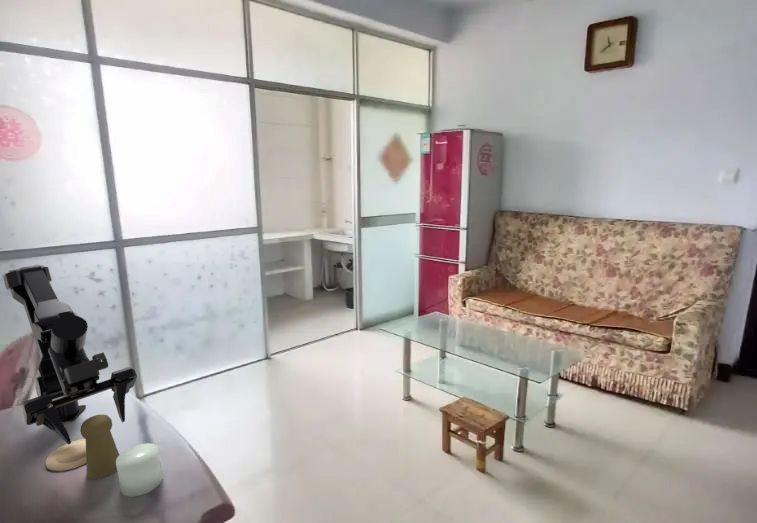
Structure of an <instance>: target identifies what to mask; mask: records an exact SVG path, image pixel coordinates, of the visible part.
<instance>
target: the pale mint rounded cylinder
mask: <svg viewBox="0 0 757 523" xmlns="http://www.w3.org/2000/svg"><path fill="white" fill-rule="evenodd" d="M116 466H117V471H116V472H117V476H118V481H119V486H120V491H121V494H122V495H123V496H125V497H129V498H132V497H133V498H134V497H140V496H143V495H145V494H148V493H150V492H152V491H153V490H156V488H157V487H159V486H160V485H161V483H162V481H163V479H164V475H163V474H164V473H163V469H162V468H163V466H162V461H161V456H160V448H159V446H158V445H157V444H155V443H148V442H147V443H140V444H137V445H134V446H131V447H129V448H126V449H125V450H124V451H122V452H120V453H119V456H118V457H117V459H116Z"/></svg>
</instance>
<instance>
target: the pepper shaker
mask: <svg viewBox="0 0 757 523" xmlns="http://www.w3.org/2000/svg"><path fill="white" fill-rule="evenodd" d="M112 428H113V420H112V419H111V417H110V416H109V415H108V414H95V415H93V416H90V417H88V418H86V419H85V420H84V421H83V422H82V423H81V425H80V429H79V430H80V435H81V436H82V437H83V438H82V439H84V438H85V439H86V476H87V478H88V479H91V480H99V479H103V478H106V477H109V476H111V475H112V474H114V473H116V472H118V471H117V466H116V459H117V457H118V456H119V455H120V453H119V450H118V448H117V446H116V443H115V439H114V437H113V434H112V432H111V430H112Z"/></svg>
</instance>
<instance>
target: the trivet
mask: <svg viewBox="0 0 757 523" xmlns="http://www.w3.org/2000/svg"><path fill="white" fill-rule="evenodd" d="M85 464H86V439H85V438H81V439H80V438H79V439H77V440H73V441H71V444H69V445H68V444H67V443H66V444H63V445H61V446H60V447H58V448H56V449H55V450H54V451H52V452H51V453H50V454H49V455H48V456H47V457H46V459H45V466H46V468H47V469H48V470H50V471H52V472H53V471H54V472H62V471H68V470H73V469H75V468H78V467H81V466H83V465H85Z"/></svg>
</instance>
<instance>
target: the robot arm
mask: <svg viewBox="0 0 757 523" xmlns="http://www.w3.org/2000/svg"><path fill="white" fill-rule="evenodd" d="M51 282H52V276H51V273H50V269H49V266H45V265H40V264H35V265H29V266H23V267H22V266H21V267H20V268H16V269H9V270H8V272H6V273H5V274H4V275H3V284H4V285H5V289H6V291H10V294H11V297H12V299H13V300H15V301H16V302H18V303H20V304H21V305H23V307H24V310H25V312H26V315H27V319H28V322H29V325H30V329H31V331H32V334H33V337H34V341H35V344H36V347H37V351H38V354H39V356H40V357H39V358H40V362H39V365H38V368H37V371H36V372H37V373H36V375H37V377H35V391H36V395H37V396H36V397H32V398H30V399H27V400H25V402H24V403H23V405H22V411H23V418H24V420H25V424H26V426H30V425H33V424H36V426H37V427H39V426H45V427H46V428H48V429H49V430H51V431H53V432H54V433H55V434H56V435H57V436H58V437H59V438H61V440H63V442H65V443H66V444H68V445H69V444H71V442H72V440H71V437H70V435H69V432H68V430H67V429H66V427H65V425H64V423H65V422H73V421H75V420H76V419H77V418H78V417H79V415H80V414H81V413H82V412H83V411H85V409H86V407H87V405H86V404H81V405H79V401H80V400H82V399H86V398H88V397H91V396H94V395H97V394H100V393H102V392H105V391H108V390H111V392H113V395H112V399H113V401H114V405H115V408H116V410H117V414H118V417H119V419H120V421H121V423H124V422H126V399H125V398H126V395H127V394H128V393H130V390H131V389H132V388H133V387H134V386H135V383H136V380H137V378H138V374H137V373H136V370H135V369H134V368H132V367H131V366H127V367H124V368H121V369H118V370H115V371H111V374H110V378H109V379H107V380H104V381H100V382H98V381H99V380H100V375H101V374H100V371H102V370H106V369H107V368H109V362H108V359H107V357H106V355H105V354H106V353H104V352H103V351H102V352H100V353H96V354H94V355H93V356H92V358H91V359H89V357H88V355H87V352H86V351H85V348H84V347H85V345H86V339H87V333H88V328H89V327H88V322H87V320H86V319H85V318H83V317H81V316H80V315H79V314H78V313H77V312H74V311H73V309H72V308H71V306H70V305H69V304H68V303H64V302H61V301H60V300H59V298H58V297H57V294H56V293H55V291H54V288H53V287H52V284H51Z"/></svg>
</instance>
